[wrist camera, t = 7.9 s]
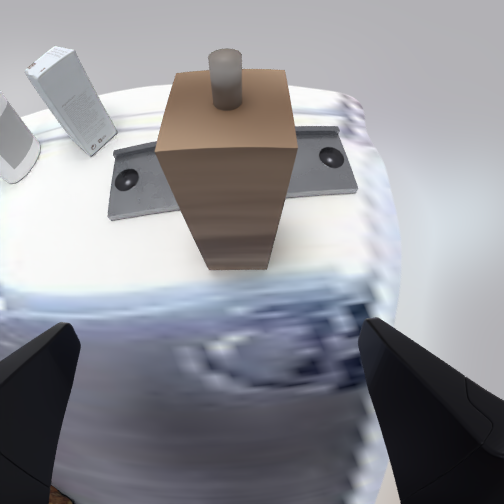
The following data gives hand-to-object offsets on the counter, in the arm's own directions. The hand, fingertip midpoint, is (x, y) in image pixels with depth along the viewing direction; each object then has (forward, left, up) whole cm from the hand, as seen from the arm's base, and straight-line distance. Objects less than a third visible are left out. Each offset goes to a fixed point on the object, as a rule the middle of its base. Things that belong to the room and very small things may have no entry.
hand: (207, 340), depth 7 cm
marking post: (+6, -5, -13) cm, 15 cm away
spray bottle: (+33, +10, -13) cm, 37 cm away
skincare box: (+27, 0, -13) cm, 30 cm away
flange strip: (+12, -9, -13) cm, 19 cm away
